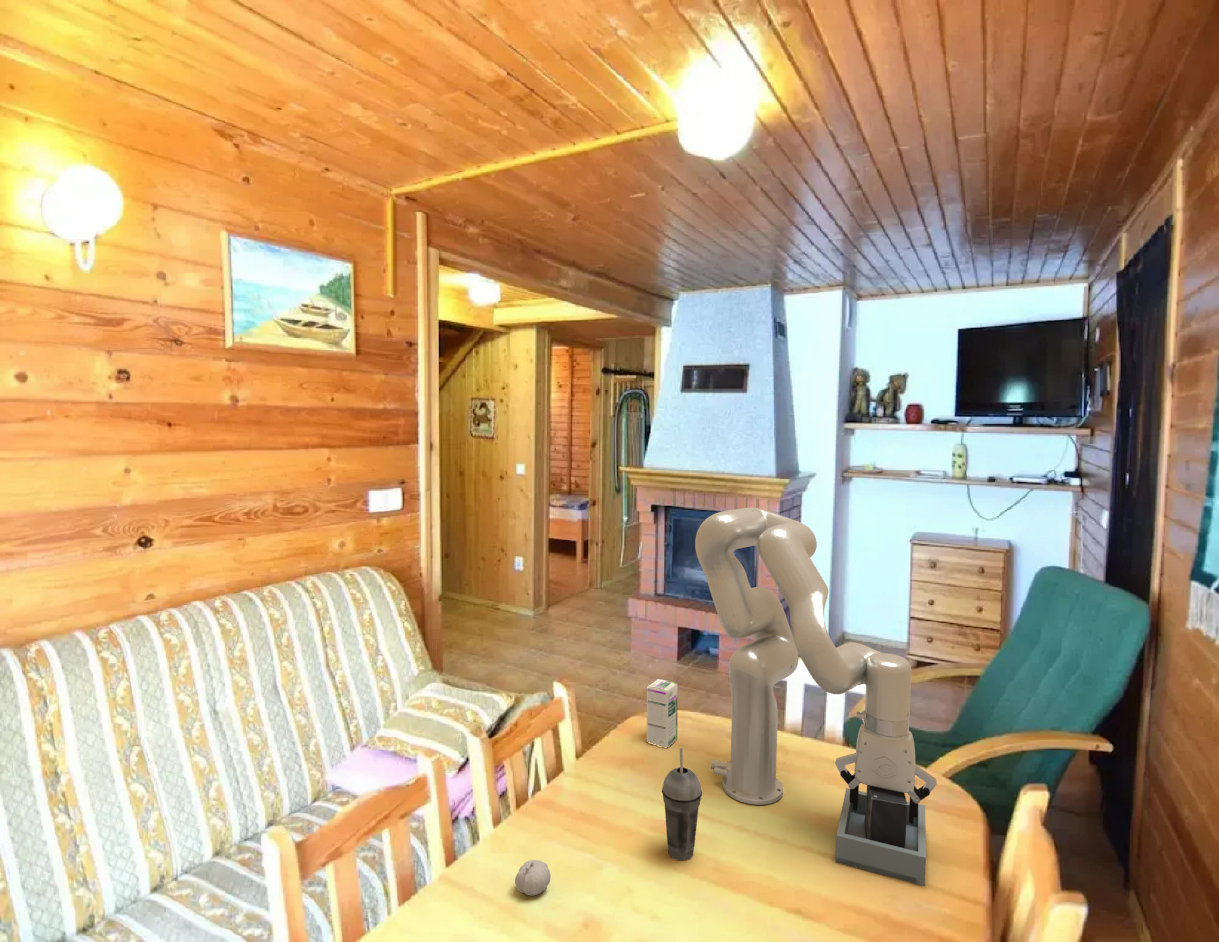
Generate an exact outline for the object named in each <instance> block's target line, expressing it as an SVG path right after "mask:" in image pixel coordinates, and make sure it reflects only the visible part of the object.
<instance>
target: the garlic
mask: <svg viewBox="0 0 1219 942" xmlns="http://www.w3.org/2000/svg"><path fill="white" fill-rule="evenodd" d="M550 882H551V871H550V869H549V867H548V864H547V863H546V862H545V861H543V860H539V859H529V860H527V861H525V862H524V863H523V865H521V866H520V867H519V869H518V872H517V873H516V875H515V878H514V883H515V884H514V885H515V887H516V889H517V890H518V891H519V892H520V893H522V894H525V895H527V896H537V895H540V894H541V893H542V892H544V891H546V890H547V888H548V886H549V884H550Z"/></svg>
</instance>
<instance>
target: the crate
mask: <svg viewBox="0 0 1219 942" xmlns="http://www.w3.org/2000/svg"><path fill="white" fill-rule="evenodd" d="M866 794H867V791H866V792H865V791H861V790H859V796H858V807H857V810H856V811H855V810H853V803H850V788H849V787H847V788H845V793H844V798H843V802H842V806H841V807H842V808H841V812H840V818H839V821H838V822H839V823H838V827H837V832H836V841H835V863H836V864H840V865H844V866H848V867H851V868H855V869H858V870H862V871H867V872H871V873H873V874H878V875H882V876H886V877H890V878H892V879H893V878H894V879H896V880H900V881H903V882H907V883H908V882H909V883H911V884H915V885H919V886H923V887H925V885H926V870H927V869H926V867H927V866H926V865H927V844H926V843H927V839H926V838H927V835H926V833H927V831H926V805H924V804H921V803H918V818H915V817H913V824H910V822H909V806H910V801H907V822H906V840H905V848H901V847H897V846H893V845H889V844H885V843H880V842H876V841H872V840H868V839H866V832H865V823H864V821H865V810H866Z"/></svg>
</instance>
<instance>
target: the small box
mask: <svg viewBox="0 0 1219 942" xmlns="http://www.w3.org/2000/svg"><path fill="white" fill-rule="evenodd" d="M866 793H867V794H866V810H865V821H864V823H865V832H866V839H868V840H872V841H876V842H880V843H885V844H889V845H893V846H897V847H901V848H905V840H906V822H907V802H908V801H907V797H906V793H902V792H897V791H892V790H887V789H883V788H878V787H874V786H869V785H866Z"/></svg>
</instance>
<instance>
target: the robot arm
mask: <svg viewBox="0 0 1219 942" xmlns="http://www.w3.org/2000/svg"><path fill="white" fill-rule="evenodd" d="M817 545H818V543H817V537H816V536H815V533H814V532H813V531H812V530H811V528H810V527H809V526H808V525H806V524H804V523H803V522H800V521H798V520H795V519H793V518H789V517H786V516H783V515H780V514H777V513H774V512H771V511H768V510H765V509H762V508H758V507H745V508H744V507H743V508H735V509H728V510H724V511H719V512H717V513H714V514H712V515H710V516H708V517H707V518H705V519H704V520H703V522H702V523H701V524H700V525H699V528H698V529H697V532H696V534H695V542H694V546H695V553H696V557H697V560H698V562H699V564H700V566H701V569H702V571H703V573H704V576H705V579H706V582H707V584H708V588H709V592H710V595H711V598H712V602H713V605H714V607H715V611H716V613H717V616H718V620H719V623H720V625H721V628H722V630H723V631H724V633H725V634H726V635H727V636H728V637H731V639H736V640H737V639H738V640H739V639H745V638H748V637H751V636H752V637H753V641H750V642H748V643H747V644H744V645H742V646H740V647H739V648H737V649H736V650H735V651H734V652H733V654H732V655H731V657H730V659H729V662H728V677H729V683H730V691H731V692H730V693H731V731H730V734H731V735H730V736H731V737H730V738H731V739H730V761H726V762H723V761H721V760H717V759H711V764H710V765H711V767H710V768H711V770H713V775H717V776H722V777H723V779H722V788H723V790H724V792H725V793H726V794H727V795H728V796H729V797H731V799H734V800H736V801H738V802H740V803H743V804H748V805H755V806H756V805H757V806H762V805H770V804H773V803H776V802H778V801H779V800H780V799H781V798H782V797H783V794H784V785H783V783H782V782H781V781H780V780H779V779H778V778H777V754H778V750H777V749H778V719H779V718H778V716H779V714H778V713H779V711H778V710H779V709H778V703H777V699H776V696H775V693H774V686H775V685H776V684H778V683H779V682H780V681H782V680H785V679H786V678H788V677H790V676H791V675H793V673H794V672H795V671H796V670H797V667H798V665H799V657H800V659H801V661H802V662H803V664H804V666H805V668H806V670H807V671H808V673H809V674H810V677H811V678H812V679H813V681H814V682H815V683H816V685H817V686H818V687H819V688H821V689H822V690H823V691H824V692H826V693H829V694H831V695H842V694H845V693H848V692H849V691H851V690H853V689H854V688H855V687H856V686H860V685H865V702H864V703H865V706H864V707H865V709H863V710H862V711H856V719H857V720H860V721H861V722H862V723H861V725H860V727H859V730H858V733H857V739H856V745H855V746H856V747H855V752H854V753H851V754H847V755H843V756H840V757H839V756H838V757H836V758H835V761H834V764H835V766H836V768H837V771H838V772H839V774H840V777H841V778H842V779H843V781H844V782H845V783H846V784H847V786H848V787H847V788H848V789H850V803H853V810H855V811H856V810H857V807H858V796H859V791H860V784H862V785H866V786H867V785H869V786H874V787H878V788H883V789H887V790H892V791H897V792H902V793H905V794H907V795H908V796H909V802H910V806H909V822H910V824H913V817H915V818H918V804H921V801H922V800H924V799H925V798H927V797H929V796H930V794H931V792H933V790H934V789H935V787H936V786H937V785H938V781H937V779H936V777H934V776H933V775H931V774H930V773H928V772H927V771H925V770H924V769H923V768H922V767H920V766H918V765H916V749H915V747H916V746H915V740H914V737H913V733H912V732H911V730H910V714H911V713H910V711H911V710H910V708H911V707H910V706H911V689H912V687H911V685H912V665H911V663H910V661H909V660H907V658H905V657H903V656H901V655H898V654H894V653H888V652H887V653H885V652H882V651H880V650H879V651H878V650H876V649H875V648H871V647H869V646H867V645H865V644H862V643H858V642H852V641H851V642H850V641H848V642H845V643H844V644H841V645H839V646H838V647H836V646H835V644H834V643H833V641H832V639H831V637H830V635H829V632H828V629H827V626H826V622H825V607H826V602H827V601H828V600H827V599H828V595H829V586H828V585H827V583H826V582H825V581H824V579H823V577H822V576H821V574H820V572H819V570H818V569H817V566H815V564H814V562H813V560H812V557H813V556H814V554H815V552H816V550H817V547H818V546H817ZM752 546H754V547H756V549H757V552H758V555H759V557H760V559H761V560H762V562H763V565H764V566H765V568H766V569H767V571H768V572H769V573H768V574H770V576H771V578H772V580H773V582H774V583H775V585H776V586H777V588H778V590H779V591H780V593H781V595H782V597H783V599H784V601H785V603H786V604H787V606H788V608H789V614H790V615H789V616H790V625H789V622H788V618H787V615H786V612H785V610H784V606H783V605H782V602H781V600H780V599H779V597H778V596H777V595H776V594H775V593H774V592H773V591H771V590H770V589H768V588H766V587H762V586H755V587H751V584H750V582H749V579H748V576H747V572H746V570H745V568H744V566H743V564H742V563H741V562H740V561H739V559H738V558H737V557H736V555H734V552H735V551H737V550H738V549H743V548H748V547H752ZM790 626H791V627H790ZM851 764H854V773H851V772H850V770H848V769H847V767H846V766H847V765H851ZM916 777H918V778H919V779H921V780H922V781H924V782H925V784H924V785H922V786H920V787H919V788H918V787H917V786H916V784H915V783H916Z"/></svg>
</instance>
